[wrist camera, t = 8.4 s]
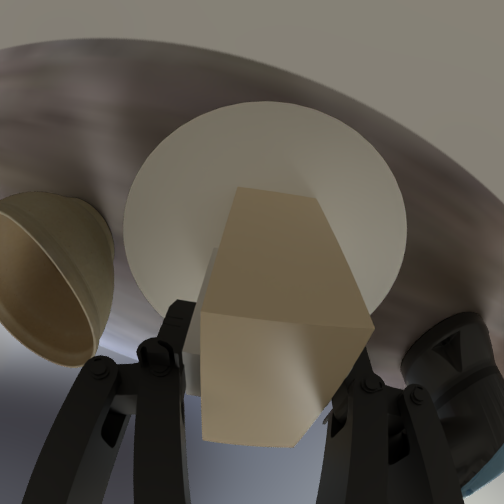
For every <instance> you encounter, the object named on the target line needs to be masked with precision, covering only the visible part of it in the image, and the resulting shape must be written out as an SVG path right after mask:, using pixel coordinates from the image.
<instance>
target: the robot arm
mask: <svg viewBox="0 0 504 504" xmlns="http://www.w3.org/2000/svg"><path fill="white" fill-rule="evenodd" d="M218 249H219V248H214V249H213V252H212V255H211V258H210V261H209V264H208V267H207V270H206V273H205V277H204V280H203V283H202V286H201V289H200V293H199V296H198V299H197V302H191V301H185V300H179V299H177V300H176V301H175V302H174V303H172V304H171V305H170V306H169V308H168V311H167V313H166V316H165V318H164V321H163V324H162V326H161V328H160V331H159V333H158V336H157V337H155V338H149V339H147V340H145V341H143V342H142V343H141V344H140V345H139V346H138V349H137V351H136V352H137V356H138V360H139V362H138V363H134V364H116V363H115V362H114V360H113V359H111V358H109V357H107V356H101V355H100V356H94V357H92V358H90V359H89V360H87V362H86V363H85V364H84V365H83V367H82V369H81V371H80V373H79V374H78V377H77V378H76V380H75V382H74V384H73V386H72V387H71V389H70V392H69V393H68V395H67V397H66V399H65V401H64V403H63V405H62V407H61V409H60V411H59V413H58V415H57V417H56V419H55V421H54V424H53V425H52V428H51V430H50V432H49V434H48V436H47V439H46V441H45V443H44V446H43V448H42V450H41V453H40V455H39V457H38V460H37V462H36V465H35V467H34V470H33V473H32V475H31V478H30V480H29V483H28V486H27V489H26V492H25V495H24V498H23V501H22V504H102V501H103V498H104V494H105V491H106V488H107V485H108V481H109V478H110V475H111V472H112V469H113V466H114V463H115V460H116V457H117V454H118V451H119V448H120V445H121V442H122V439H123V437H124V434H125V431H126V428H127V425H128V423H129V419H130V417H131V414H136V419H135V436H134V471H133V472H134V473H133V474H134V475H133V476H134V477H133V479H134V480H133V482H134V504H191V500H190V491H189V480H188V469H187V456H186V455H187V454H186V439H185V415H184V400H183V399H184V394H185V390H186V394H188V395H194V396H200V397H201V374H200V321H201V308H202V305H203V301H204V297H205V294H206V290H207V287H208V283H209V280H210V276H211V273H212V269H213V266H214V262H215V259H216V256H217V252H218ZM401 373H402V376H403V378H404V381H405V384H406V385H407V387H406V388H405V389H404V390H402V389H397V388H393V387H389V386H387V385H385V383H384V381H383V380H382V379H381V377H379V376H378V375H376V374H375V373H373V370H372V366H371V363H370V360H369V357H368V353H367V350H366V347H364V349H363V351H362V352H361V354H360V356H359V357H358V359H357V360H356V362H355V364H354V365H353V367H352V368H351V370H350V372H349V373H348V375H347V376H346V378H345V379H344V381H343V382H342V384H341V385H340V387H339V388H338V390H337V391H336V393H335V394H334V396H333V397H332V398H331V400H332V406H333V409H332V410H331V411H330V413H329V414H328V415H327V416H326V418H325V419H324V421H323V424H326V422H327V421H328V428H327V437H326V445H325V452H324V460H323V465H322V472H321V479H320V484H319V490H318V495H317V500H316V504H464V500H463V499H465V498H466V497H468V496H470V495H471V494H473V493H474V492H476V491H478V490H479V489H481V488H482V487H484V486H485V485H487V484H488V483H490V482H491V481H492V480H494V479H495V478H496V477H498V476H499V475H500V474H501V473H503V472H504V379H503V377H502V375H501V373H500V371H499V369H498V368H497V366H496V363H495V360H494V354H493V349H492V345H491V340H490V336H489V331H488V328H487V326H486V324H485V323H484V321H483V320H482V318H481V317H480V316H479V315H478V314H476V313H472V312H466V313H461V314H458V315H455V316H452V317H450V318H448V319H446V320H444V321H443V322H441V323H439V324H438V325H436V326H435V327H433V328H432V329H431V330H429V331H428V332H427V333H425V334H424V335H423V336H422V337H421V338H420V339H419V340H418V341H417V342H416V343H415V344H414V345H413V346H412V347H411V349H410V350H409V351H408V353H407V354H406V356H405V357H404V359H403V362H402V365H401ZM331 400H330V401H331ZM330 401H329V402H330ZM327 405H328V404H327ZM327 405H326V406H327Z"/></svg>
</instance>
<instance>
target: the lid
mask: <svg viewBox="0 0 504 504" xmlns="http://www.w3.org/2000/svg"><path fill="white" fill-rule="evenodd" d="M406 238H407V222H406V211H405V207H404V202H403V198H402V194H401V192H400V189H399V187H398V184H397V182H396V179H395V177H394V175H393V173H392V172H391V170H390V168H389V167H388V165H387V163H386V162H385V160H384V159H383V158H382V157H381V155H380V154H379V153H378V152H377V150H376V149H375V148H374V147H373V146H372V145H371V144H370V143H369V142H368V141H367V140H366V139H365V138H364V137H362V136H361V135H360V134H359V133H358V132H357V131H355V130H354V129H352V128H351V127H349V126H348V125H346V124H344V123H343V122H341V121H340V120H338V119H336V118H334V117H332V116H330V115H327V114H325V113H323V112H320V111H318V110H315V109H312V108H308V107H304V106H300V105H296V104H292V103H283V102H273V101H260V102H244V103H239V104H234V105H230V106H225V107H221V108H218V109H215V110H213V111H210V112H207V113H205V114H202V115H200V116H198V117H196V118H194V119H192V120H191V121H189V122H187V123H185V124H184V125H182V126H180V127H179V128H178V129H176V130H175V131H174V132H172V133H171V134H170V135H169V136H168V137H166V138H165V139H164V140H163V141H162V142H161V143H160V144H159V145H158V146H157V147H156V148H155V149H154V150H153V152H152V153H151V154H150V155H149V156H148V157H147V159H146V160H145V162H144V163H143V165H142V167H141V168H140V170H139V171H138V173H137V175H136V177H135V179H134V182H133V184H132V186H131V188H130V191H129V195H128V198H127V202H126V206H125V212H124V220H123V239H124V246H125V252H126V257H127V260H128V263H129V267H130V270H131V272H132V275H133V277H134V279H135V281H136V283H137V285H138V287H139V288H140V290H141V292H142V293H143V295H144V296H145V298H146V299H147V300H148V302H149V303H150V304H151V305H152V306H153V308H154V309H155V310H156V311H157V312H158V313H159V314H160V315H161V316H162V317H163V318H165V316H166V313H167V311H168V308H169V306H170V305H171V304H172V303H174V302H175V301H176V300H177V299H179V300H185V301H191V302H197V299H198V296H199V293H200V289H201V286H202V283H203V280H204V277H205V273H206V270H207V267H208V264H209V261H210V258H211V255H212V252H213V249H214V248H219V249H218V252H217V256H216V259H215V262H214V266H213V269H212V273H211V276H210V280H209V283H208V287H207V290H206V294H205V297H204V301H203V305H202V308H201V321H200V374H201V414H202V438H203V440H204V441H211V442H218V443H226V444H235V445H247V446H260V447H289V448H293V447H294V446H295V445H296V444H297V443H298V442H299V440H300V439H301V438H302V437H303V436H304V434H305V433H306V432H307V430H308V429H309V428H310V427H311V425H312V424H313V423H314V421H315V420H316V419H317V418H318V416H319V415H320V414H321V412H322V411H323V410H324V408H325V407H326V405H327V404H328V403H329V401H330V400H331V398H332V397H333V396H334V394H335V393H336V391H337V390H338V388H339V387H340V385H341V384H342V382H343V381H344V379H345V378H346V376H347V375H348V373H349V372H350V370H351V368H352V367H353V365H354V364H355V362H356V360H357V359H358V357H359V356H360V354H361V352H362V351H363V349H364V347H365V345H366V344H367V342H368V340H369V338H370V337H371V335H372V333H373V331H374V330H375V327H374V325H373V322H372V320H371V317H370V315H371V314H372V313H373V312H374V310H375V309H376V308H377V307H378V306H379V305H380V304H381V302H382V301H383V300H384V298H385V297H386V295H387V294H388V292H389V291H390V289H391V287H392V285H393V283H394V282H395V280H396V278H397V275H398V273H399V270H400V267H401V264H402V261H403V257H404V252H405V248H406Z"/></svg>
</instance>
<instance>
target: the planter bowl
mask: <svg viewBox="0 0 504 504" xmlns="http://www.w3.org/2000/svg"><path fill="white" fill-rule="evenodd" d="M113 259H114V243H113V238H112V235H111V232H110V230H109V227H108V225H107V224H106V222H105V220H104V219H103V217H102V216H101V215H100V214H99V213H98V212H97V210H96V209H94V208H93V207H92V206H91V205H90V204H88V203H87V202H85V201H83V200H81V199H78V198H74V197H64V196H61V195H57V194H53V193H48V192H24V193H19V194H15V195H12V196H9V197H6V198H4V199H2V200H0V323H1V324H2V325H3V326H4V327H5V328H6V329H7V331H8V332H9V333H11V335H12V336H14V338H16V339H17V340H18V341H19V342H20V343H21V344H23V345H24V346H25V347H26V348H28V349H29V350H31V351H32V352H34V353H35V354H37V355H38V356H40V357H42V358H44V359H46V360H48V361H50V362H52V363H55V364H58V365H61V366H64V367H70V368H78V367H83V365H84V364H85V363H86V362H87V360H89V359H90V358H92V357H94V356H95V354H96V351H97V349H98V345H99V339H100V338H101V336H102V333H103V331H104V329H105V326H106V323H107V321H108V317H109V314H110V310H111V305H112V299H113V290H114V268H113Z"/></svg>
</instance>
